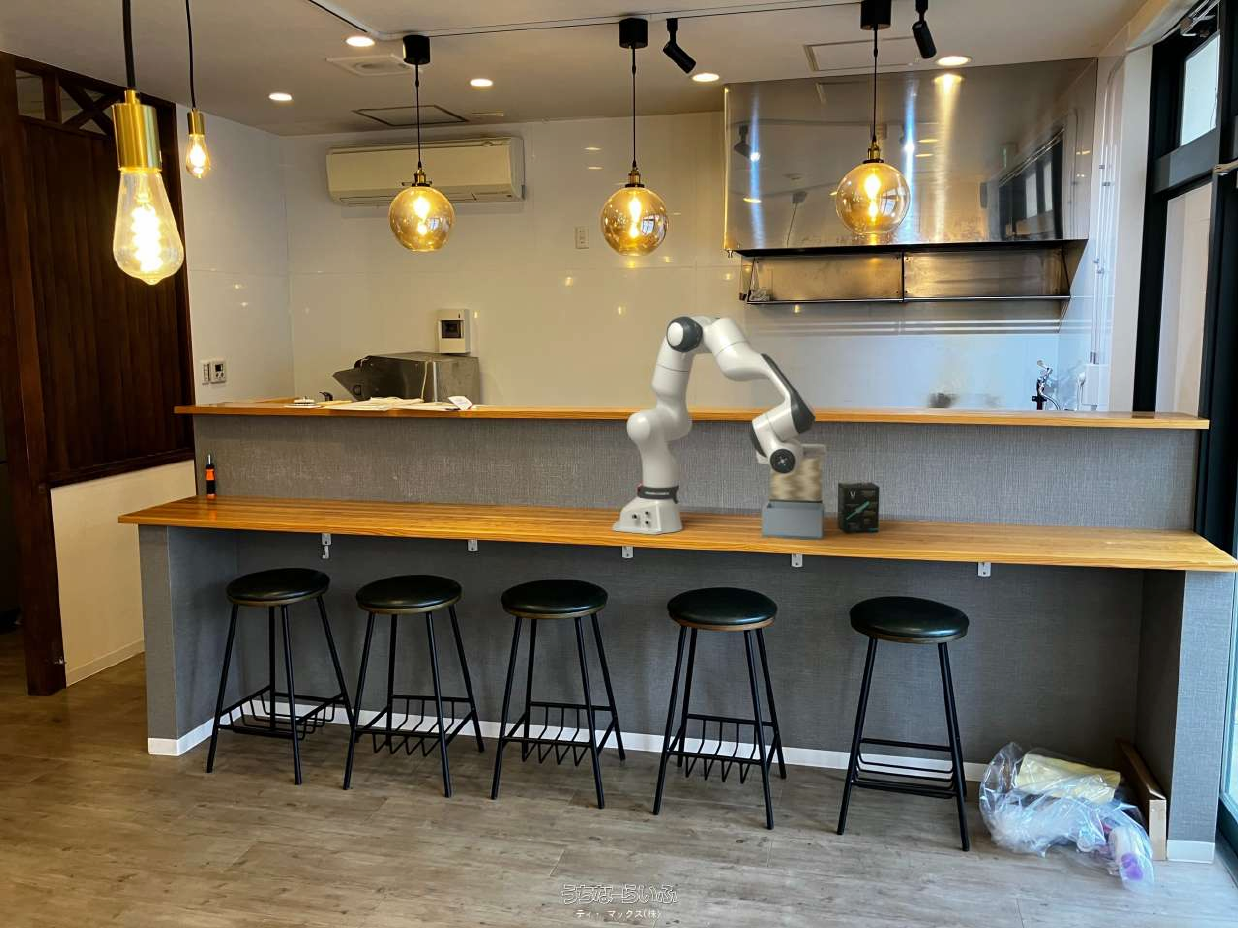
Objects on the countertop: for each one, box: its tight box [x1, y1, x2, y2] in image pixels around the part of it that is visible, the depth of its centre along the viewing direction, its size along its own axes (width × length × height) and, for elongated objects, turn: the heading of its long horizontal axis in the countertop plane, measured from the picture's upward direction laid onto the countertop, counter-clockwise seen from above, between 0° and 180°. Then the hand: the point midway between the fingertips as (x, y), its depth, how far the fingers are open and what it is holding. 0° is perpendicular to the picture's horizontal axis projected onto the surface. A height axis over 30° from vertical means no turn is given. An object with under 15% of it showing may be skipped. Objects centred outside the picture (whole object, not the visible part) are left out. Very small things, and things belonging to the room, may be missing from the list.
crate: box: [761, 500, 826, 541], centre depth 295 cm, size 18×12×9 cm, turn 74°
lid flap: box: [768, 458, 824, 504], centre depth 300 cm, size 17×1×17 cm, turn 74°
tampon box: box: [837, 481, 880, 534], centre depth 300 cm, size 11×9×15 cm
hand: (792, 447), depth 286 cm, fingers open, 5 cm apart
